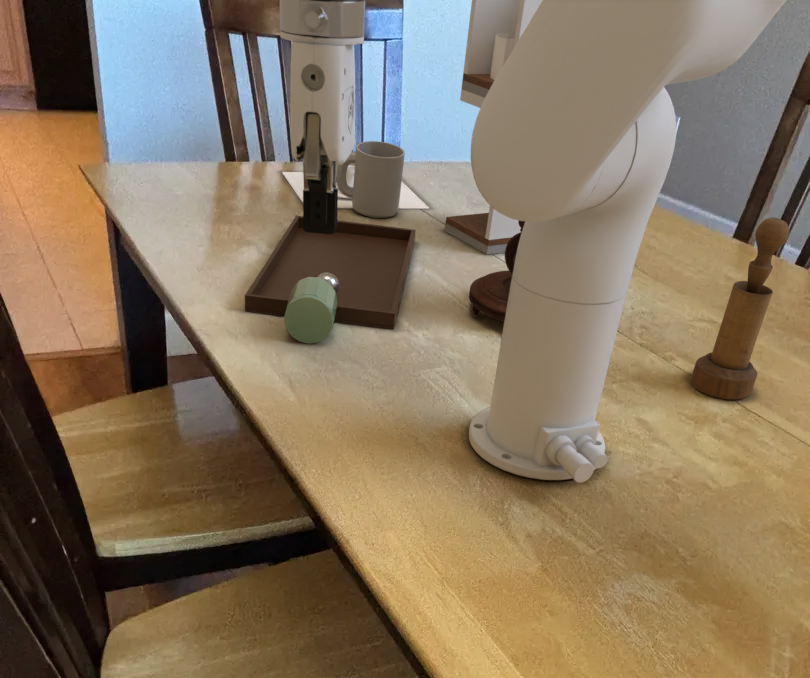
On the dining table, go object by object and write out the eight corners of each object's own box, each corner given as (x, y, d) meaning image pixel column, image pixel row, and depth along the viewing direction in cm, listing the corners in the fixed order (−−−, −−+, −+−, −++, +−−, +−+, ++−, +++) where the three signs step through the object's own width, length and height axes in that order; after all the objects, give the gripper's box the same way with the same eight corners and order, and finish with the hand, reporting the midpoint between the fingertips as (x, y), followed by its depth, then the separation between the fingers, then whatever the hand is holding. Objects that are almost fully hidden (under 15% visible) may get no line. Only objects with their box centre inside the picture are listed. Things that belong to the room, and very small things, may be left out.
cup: (396, 221, 132) (402, 161, 126) (330, 211, 132) (334, 150, 126) (399, 204, 138) (406, 145, 132) (337, 194, 137) (341, 135, 131)
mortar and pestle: (705, 367, 99) (757, 205, 88) (760, 387, 96) (821, 221, 85) (680, 385, 95) (732, 216, 84) (736, 406, 92) (798, 234, 81)
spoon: (321, 310, 93) (337, 233, 98) (294, 308, 93) (310, 231, 98) (328, 360, 100) (342, 286, 105) (302, 358, 100) (317, 284, 105)
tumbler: (342, 313, 92) (345, 292, 97) (297, 288, 91) (303, 268, 96) (319, 352, 95) (324, 329, 100) (275, 328, 93) (282, 307, 98)
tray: (393, 329, 100) (395, 313, 98) (244, 311, 100) (244, 295, 99) (414, 243, 125) (415, 229, 124) (295, 228, 125) (295, 215, 124)
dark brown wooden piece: (558, 352, 99) (597, 166, 87) (445, 315, 104) (467, 136, 92) (604, 314, 109) (645, 143, 97) (499, 283, 115) (526, 118, 103)
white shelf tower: (504, 224, 136) (547, -45, 115) (548, 246, 129) (601, -35, 108) (444, 230, 130) (477, -51, 110) (486, 254, 123) (530, -41, 103)
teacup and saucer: (316, 185, 144) (317, 158, 141) (363, 185, 146) (364, 159, 143) (328, 201, 137) (329, 174, 135) (377, 201, 139) (379, 174, 137)
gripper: (352, 33, 71) (346, 257, 82) (373, 17, 84) (365, 214, 94) (262, 25, 72) (267, 250, 82) (296, 11, 84) (297, 208, 94)
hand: (320, 230), depth 88 cm, fingers closed
